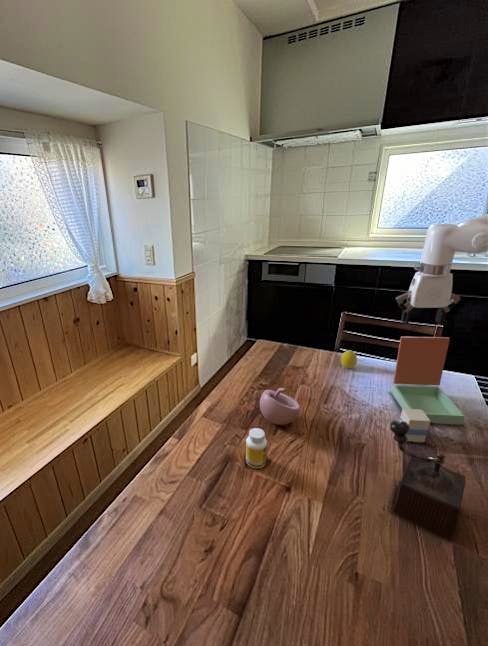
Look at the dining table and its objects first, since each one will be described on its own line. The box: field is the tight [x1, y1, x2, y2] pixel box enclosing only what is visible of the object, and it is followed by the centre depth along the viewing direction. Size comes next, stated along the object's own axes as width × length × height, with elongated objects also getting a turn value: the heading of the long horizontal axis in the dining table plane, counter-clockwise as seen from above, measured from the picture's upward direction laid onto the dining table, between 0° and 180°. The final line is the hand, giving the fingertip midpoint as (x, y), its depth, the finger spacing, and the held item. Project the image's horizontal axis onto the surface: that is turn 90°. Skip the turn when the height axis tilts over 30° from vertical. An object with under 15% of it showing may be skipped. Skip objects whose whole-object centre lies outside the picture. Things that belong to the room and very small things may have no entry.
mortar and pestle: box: [259, 387, 301, 426], centre depth 103 cm, size 12×12×11 cm
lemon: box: [340, 349, 358, 370], centre depth 129 cm, size 6×6×8 cm
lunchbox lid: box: [392, 336, 451, 386], centre depth 108 cm, size 16×14×1 cm
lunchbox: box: [391, 384, 466, 426], centre depth 105 cm, size 16×14×4 cm
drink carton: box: [399, 408, 431, 443], centre depth 94 cm, size 5×5×8 cm
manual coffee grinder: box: [389, 419, 466, 540], centre depth 73 cm, size 16×11×18 cm
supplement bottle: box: [245, 427, 268, 469], centre depth 89 cm, size 5×5×10 cm
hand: (421, 322), depth 105 cm, fingers open, 9 cm apart
